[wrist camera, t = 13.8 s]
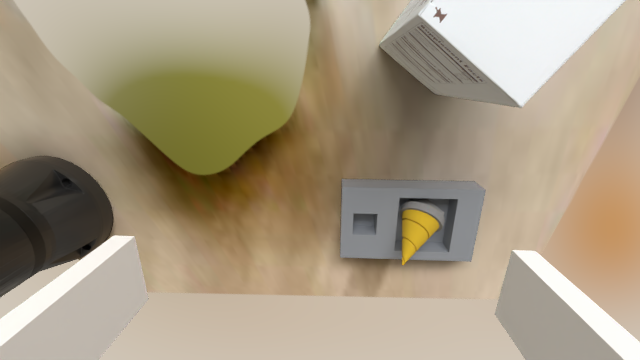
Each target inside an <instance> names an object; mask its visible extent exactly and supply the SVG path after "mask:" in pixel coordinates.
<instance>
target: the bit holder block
mask: <svg viewBox="0 0 640 360" xmlns="http://www.w3.org/2000/svg"><path fill="white" fill-rule="evenodd" d="M485 191H486V190H485V189H484V188H482V187H481V186H480V185H479V184H477V183H476V182H475V181H425V180H371V179H342V192H341V228H340V257H344V258H375V259H402V257H403V256H402V238H403V237H402V218H401V217H400V215H399V212H400V210H401V207H402V205H403V204H404V203H406V202H407V201H408V199H411V198H429V199H428V200H429V201H431V202H432V203H433V204H434V205H436V206H437V207H438V208H439V209H441V210H442V211H443V212H444V215H443V216H444V219H445V222H444V225H443V228H442V229H441V230H440V231H439V232H435V233H434V234H433V235H432V236H431V237H430V238H429V239H428V240H427V241H426V242H425V243H424V244H423V245H422V246H421V247H420V248H419V249H418V250H417V251H416V252H415V253H414V255H413V256H412V257H411V258H410V259H409V260H439V261H470V262H471V260H472V255H473V250H474V245H475V240H476V235H477V230H478V225H479V220H480V215H481V211H482V206H483V201H484V196H485Z"/></svg>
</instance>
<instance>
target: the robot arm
mask: <svg viewBox="0 0 640 360" xmlns="http://www.w3.org/2000/svg"><path fill="white" fill-rule="evenodd" d="M112 223H113V217H112V210H111V206H110V203H109V201H108V198H107V196H106V195H105V193H104V191H103V190H102V188H101V187H100V186H99V184H98V183H97V182H96V181H95V180H94V179H93V178H92V177H91V176H90V175H89V174H88V173H86V172H85V171H84V170H82V169H81V168H79V167H78V166H76V165H74V164H73V163H70V162H68V161H66V160H63V159H60V158H56V157H51V156H35V157H31V158H27V159H23V160H20V161H16V162H13V163H11V164H9V165H7V166H5V167H4V168H2V169H1V170H0V297H2V296H3V295H4V294H6V293H8V292H9V291H10V290H12V289H14V288H15V287H16V286H18V285H20V284H21V283H22V282H24V281H25V280H27V279H28V278H30V277H31V276H33V275H34V274H36V273H37V272H39V271H42V270H45V269H48V268H51V267H54V266H57V265H61V264H64V263H66V262H70V261H73V260H76V259H79V258H81V257H84V256H85V257H84V258H83V259H81V260H80V261H78V262H77V263H76V264H74V265H73V266H72V267H70V268H69V269H68V270H66V271H65V272H64V273H62V274H61V275H60V276H58V277H57V278H56V279H54V280H53V281H51V282H50V283H49V284H47V285H46V286H45V287H43V288H42V289H41V290H39V291H38V292H36V293H35V294H34V295H32V296H31V297H30V298H28V299H27V300H26V301H24V302H23V303H22V304H20V305H19V306H17V307H16V308H15V309H13V310H12V311H11V312H9V313H8V314H7V315H5V316H4V317H2V318H1V319H0V360H99V359H100V358H101V356H102V355H103V354H104V353H105V352H106V350H107V349H108V348H109V347H110V345H111V344H112V343H113V342H114V341H115V339H116V338H117V337H118V336H119V334H120V333H121V332H122V331H123V330H124V328H125V327H126V326H127V325H128V323H129V322H130V321H131V319H133V317H134V316H135V315H136V314H137V312H138V311H139V310H140V309H141V307H142V306H143V305H144V304H145V303H146V302H147V300H148V294H147V290H146V285H145V281H144V276H143V272H142V267H141V263H140V258H139V254H138V249H137V244H136V240H135V236H112V237H111V238H110V239H108V240H107V241H106V239H107V238H108V236H109V234H110V232H111V229H112ZM105 241H106V242H105ZM87 254H88V255H87ZM86 255H87V256H86ZM495 315H496V317H497V318H498V320H499V321H500V323H501V324H502V326H503V327H504V328H505V330H506V331H507V333H508V334H509V336H510V337H511V339H512V340H513V342H514V343H515V345H516V346H517V348H518V349H519V350H520V352H521V354H522V355H523V357H524V358H525V359H526V360H640V342H639V341H638V340H637V339H636V338H634V337H633V336H632V335H631V334H630V333H629V332H627V331H626V330H625V329H624V328H623V327H622V326H621V325H619V324H618V323H617V322H616V321H615V320H614V319H613V318H611V317H610V316H609V315H608V314H607V313H606V312H605V311H603V310H602V309H601V308H600V307H599V306H598V305H597V304H595V303H594V302H593V301H592V300H591V299H590V298H589V297H587V296H586V295H585V294H584V293H583V292H581V291H580V290H579V289H578V288H577V287H576V286H575V285H574V284H572V283H571V282H570V281H569V280H568V279H567V278H565V277H564V276H563V275H562V274H561V273H560V272H559V271H557V270H556V269H555V268H554V267H553V266H552V265H551V264H550V263H548V262H547V261H546V260H545V259H544V258H543V257H542V256H540V255H539V254H538V253H537V252H536V251H523V250H512V253H511V256H510V260H509V264H508V267H507V271H506V275H505V278H504V282H503V286H502V289H501V293H500V297H499V300H498V304H497V308H496V311H495Z"/></svg>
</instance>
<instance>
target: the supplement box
mask: <svg viewBox="0 0 640 360" xmlns="http://www.w3.org/2000/svg"><path fill="white" fill-rule="evenodd" d="M625 1H626V0H411V1H410V2H409V4H408V5H407V6H406V8H405V9H404V10H403V12H402V13H401V14H400V16H399V17H398V18H397V20H396V21H395V23H394V24H393V25H392V27H391V28H390V29H389V31H388V32H387V33H386V35H385V36H384V38H383V39H382V40H381V42H380V44H379V46H380V47H381V48H382V49H383V50H384V51H385V52H386V53H388V54H389V55H390V56H391V57H392V58H393V59H394V60H395V61H397V62H398V63H399V64H400V65H401V66H402V67H404V68H405V69H406V70H407V71H408V72H409V73H411V74H412V75H413V76H414V77H415V78H416V79H418V80H419V81H420V82H421V83H422V84H424V85H425V86H426V87H427V88H428V89H430V90H431V91H432V92H433V93H435V94H436V95H442V96H449V97H455V98H461V99H468V100H474V101H480V102H487V103H493V104H500V105H506V106H511V107H519V108H522V107H523V106H524V105H525V104H526V103H527V102H528V101H529V99H530V98H531V97H532V96H533V95H534V94H535V93H536V92H537V91H538V90H539V89H540V88H541V87H542V86H543V85H544V84H545V83H546V82H547V81H548V80H549V79H550V78H551V77H552V76H553V75H554V74H555V73H556V72H557V71H558V70H559V68H560V67H561V66H562V65H563V64H564V63H565V62H566V61H567V60H568V59H569V58H570V57H571V56H572V55H573V54H574V53H575V52H576V51H577V50H578V49H579V48H580V47H581V46H582V45H583V44H584V43H585V42H586V41H587V40H588V39H589V38H590V37H591V36H592V35H593V33H594V32H595V31H596V30H597V29H598V28H599V27H600V26H601V25H602V24H603V23H604V22H605V21H606V20H607V19H608V18H609V17H610V16H611V15H612V14H613V13H614V12H615V11H616V10H617V9H618V8H619V7H620V6H621V5H622V4H623V3H624V2H625Z"/></svg>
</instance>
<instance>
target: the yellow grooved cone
mask: <svg viewBox="0 0 640 360" xmlns="http://www.w3.org/2000/svg"><path fill="white" fill-rule="evenodd" d="M428 199H429V198H411V199H408V201H407V202H406V203H404V204H403V205H402V207H401V210H400V212H399V215H400V217H401V218H402V237H403V238H402V256H403V257H402V265H404V264H405V263H406V262H407V261H408V260H409V259H410V258H411V257H412V256H413V255H414V253H415V252H416V251H417V250H418V249H419V248H420V247H421V246H422V245H423V244H424V243H425V242H426V241H427V240H428V239H429V238H430V237H431V236H432V235H433V234H434V233H435V232H439V231H440V230H441V229H442V228H443V225H444V222H445V219H444V216H443V215H444V212H443V211H442V210H441V209H439V208H438V207H437V206H436V205H434V204H433V203H432V202H431V201H429V200H428Z"/></svg>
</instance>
